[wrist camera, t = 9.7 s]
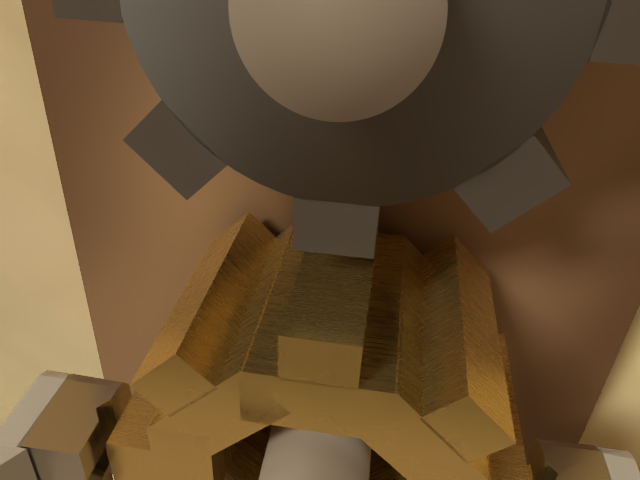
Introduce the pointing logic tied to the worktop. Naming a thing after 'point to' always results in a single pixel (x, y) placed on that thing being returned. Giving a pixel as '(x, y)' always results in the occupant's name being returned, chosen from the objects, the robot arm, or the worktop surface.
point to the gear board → (523, 257)
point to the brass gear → (325, 364)
